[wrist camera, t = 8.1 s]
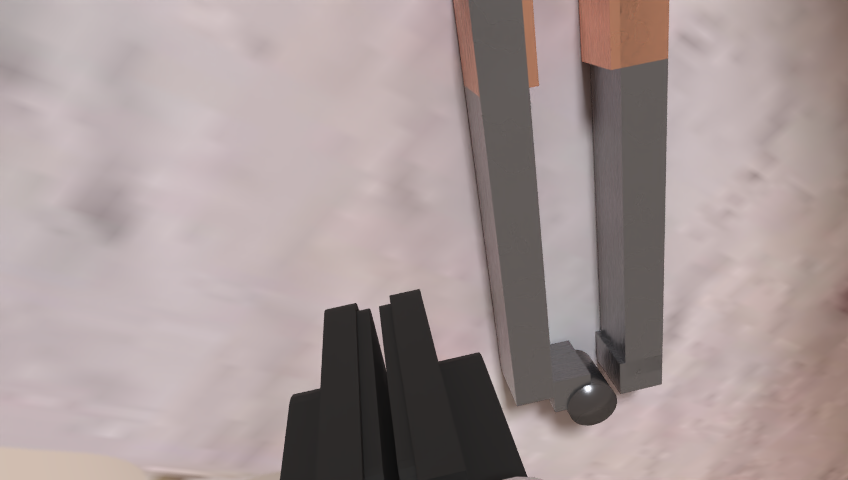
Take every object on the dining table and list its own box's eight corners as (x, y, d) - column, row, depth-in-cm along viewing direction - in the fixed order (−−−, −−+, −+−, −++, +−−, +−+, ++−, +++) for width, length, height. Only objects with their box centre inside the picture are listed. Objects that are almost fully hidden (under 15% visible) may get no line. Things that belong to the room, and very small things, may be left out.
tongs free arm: (575, -36, 23) (609, -40, 20) (592, 381, 33) (617, 419, 30) (451, -13, 23) (467, -14, 20) (505, 401, 32) (521, 441, 29)
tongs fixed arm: (631, -48, 23) (670, -52, 21) (634, 350, 32) (661, 384, 30) (577, -37, 23) (608, -40, 20) (595, 360, 32) (618, 394, 29)
